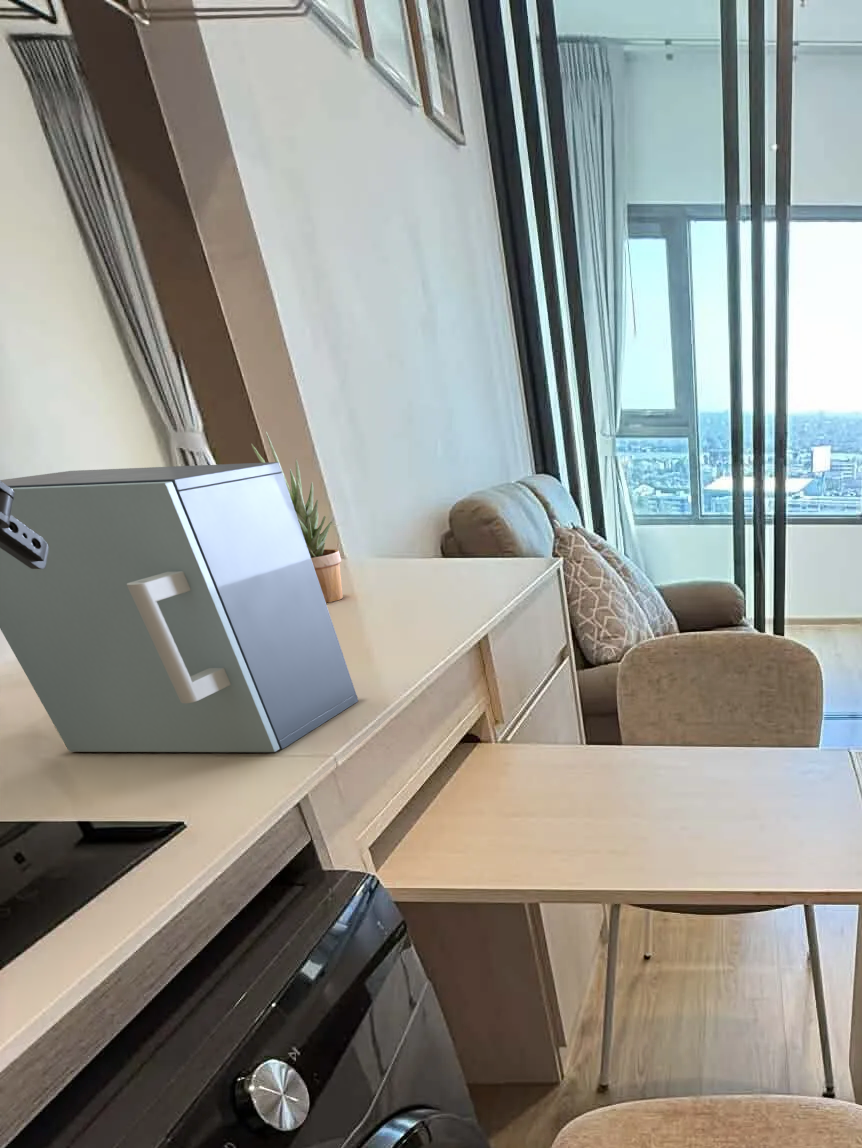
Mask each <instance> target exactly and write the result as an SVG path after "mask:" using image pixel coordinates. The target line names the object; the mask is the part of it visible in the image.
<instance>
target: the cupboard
mask: <svg viewBox="0 0 862 1148" xmlns="http://www.w3.org/2000/svg"><path fill="white" fill-rule="evenodd" d="M279 462H280V461H279ZM279 462H275V461H272V462H271V461H270V462H269V461H267V462H265V463H261V462H248V463H247V462H245V463H223V464H222V463H221V464H201V465H199V464H198V465H197V464H196V465H175V466H173V465H172V466H155V467H154V466H153V467H152V466H151V467H150V466H149V467H129V468H128V467H127V468H106V469H86V470H85V469H83V470H81V469H80V470H66V471H59V472H52V473H44V474H36V475H28V476H21V477H13V478H12V477H11V478H6V479H5V478H4V479H0V481H2V482H3V483H4V484H6V485H7V486H9V487H10V488H21V487H46V486H71V485H96V484H121V483H146V482H172V483H173V485H174V487H175V490H176V492H177V495H178V497H179V500H180V502H181V505H182V507H183V510H184V512H185V515H186V517H187V520H188V522H189V525H190V527H191V530H192V532H193V535H194V537H195V539H196V542H197V544H198V547H199V549H200V552H201V554H202V557H203V559H204V562H205V564H206V567H207V569H208V572H209V574H210V577H211V579H212V582H213V584H214V587H215V589H216V592H217V594H218V596H219V599H220V601H221V604H222V606H223V609H224V611H225V614H226V616H227V619H228V621H229V624H230V626H231V629H232V631H233V634H234V636H235V639H236V641H237V644H238V646H239V649H240V651H241V653H242V656H243V658H244V661H245V663H246V666H247V668H248V671H249V673H250V676H251V678H252V681H253V683H254V686H255V688H256V691H257V693H258V696H259V698H260V701H261V703H262V706H263V708H264V710H265V713H266V715H267V718H268V720H269V723H270V725H271V728H272V730H273V733H274V735H275V738H276V740H277V743H278V745H279V748H280V749H279V750H284V749H285V748H287V747H289V746H290V745H291V744H293V743H294V742H296V741H298V740H299V739H301V738H303V737H304V736H306V735H308V734H309V733H311V732H312V731H314V730H315V729H317V728H319V727H320V726H322V725H324V724H325V723H326V722H328V721H330V720H331V719H333V718H334V717H336V716H338V715H339V714H340V713H342V712H344V711H345V710H347V709H349V708H350V707H352V706H353V705H356V703H358V702H359V698H358V695H357V692H356V688H355V686H354V683H353V680H352V677H351V674H350V671H349V668H348V665H347V662H346V659H345V656H344V653H343V650H342V646H341V644H340V641H339V638H338V635H337V633H336V629H335V627H334V624H333V620H332V617H331V614H330V611H329V608H328V604H327V603H326V602H325V599H324V596H323V593H322V590H321V587H320V584H319V581H318V578H317V575H316V572H315V569H314V566H313V563H312V560H311V557H310V554H309V551H308V548H307V545H306V542H305V539H304V536H303V533H302V530H301V527H300V524H299V521H298V518H297V515H296V512H295V509H294V506H293V503H292V500H291V497H290V494H289V491H288V488H287V485H286V482H285V479H284V476H283V473H284V472H283V473H281V472H282V471H281V468H282V467H281V468H280V465H281V464H280V465H279Z"/></svg>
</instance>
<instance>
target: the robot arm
mask: <svg viewBox="0 0 862 1148" xmlns="http://www.w3.org/2000/svg"><path fill="white" fill-rule="evenodd" d="M14 495H15V492H14V491H13V490H12V489H11V488H10V487H9V486H7V485H6V484H4V483H3V482H2V481H0V548H1V549H3V550H4V551H6V552H7V553H9V554H10V555H12V556H13V557H15V558H16V559H17V560H19V561H20V562H22V563H23V564H25V565H26V566H28V567H29V568H31V569H44V568H45V567H46V562H47V556H48V550H49V548H48V544H47V542H46V541H45V540H44V539H43V538H42V537H41V536H39V535H38V534H37V533H34V531H32V530H31V529H30V528H28V527H27V526H26V525H24V524H23V523H21V522H20V521H19V520H17V519H16V518H14V517H13V516H12V515H10V514H11V509H12V503H13V500H14Z"/></svg>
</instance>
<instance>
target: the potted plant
mask: <svg viewBox="0 0 862 1148" xmlns="http://www.w3.org/2000/svg"><path fill="white" fill-rule="evenodd" d="M265 435H266V439H267V442H268V444H269V447H270V450H271V455H272V456H273V459H274V462H279V465H280V468H281V471H282V472H281V473H283V476H284V479H285V482H286V485H287V488H288V491H289V494H290V497H291V500H292V503H293V506H294V509H295V512H296V515H297V518H298V521H299V524H300V527H301V530H302V533H303V536H304V539H305V542H306V545H307V548H308V551H309V554H310V557H311V560H312V563H313V566H314V569H315V572H316V575H317V578H318V581H319V584H320V587H321V590H322V593H323V596H324V599H325V602H326V604H328V603H333V602H336V601H340V600H341V599H343V597H344V595H343V586H342V576H341V562H342V556H341V554H340V551H339V549H336V548H325V546H326V540H327V536H328V535H329V534H328V533H329V530H330V528H331V526H332V523H333V522H332V521H330V522H329V523H328V524H327V526H326V527H325V528H324V529H323V526H324V524H325V521H326V518H327V517H326V516H325V515H324V516H323V517H322V519H321V521H320V524H319V512H318V508H319V500H318V499H316V501H315V504H314V489H315V488H314V483H313V481H312V482H311V483H310V489H309V495H308V498H307V501H306V502H304V495H303V485H302V479H301V472H300V466H299V462H298V458H296V457H295V476H294V473H293V472H292V469H291V468H290V469H289V476H290V485H289V482H288V480H287V477H286V475H285V472H284V470H283V468H282V465H281V462H280V460H279V457H278V455H277V453H276V451H275V448H274V445H273V443H272V441H271V438H270V436H269V433H268V431H265ZM251 447H252V450H253V452H254V454H255V455H256V457H257V459H258V460H259V463H266V461H265V459H264V458H263V457H262V456H261V454H260V453H259V451H258V450H257V448H256V447H255V446H254V444H251ZM290 486H291V487H290ZM318 524H319V525H318ZM322 529H323V531H322ZM321 531H322V532H321Z"/></svg>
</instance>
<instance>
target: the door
mask: <svg viewBox="0 0 862 1148" xmlns="http://www.w3.org/2000/svg"><path fill="white" fill-rule="evenodd" d="M11 489H12V490H13V491H14V492H15V495H14V500H13V503H12V509H11V514H10V515H12V516H13V517H14V518H16V519H17V520H19V521H20V522H21V523H23V524H24V525H26V526H27V527H28V528H30V529H31V530H32V531H34V533H37V534H38V535H39V536H41V537H42V538H43V539H44V540H45V541H46V542H47V544H48V548H49V550H48V556H47V562H46V567H45V568H44V569H31V568H29V567H28V566H26V565H25V564H23V563H22V562H20V561H19V560H17V559H16V558H15V557H13V556H12V555H10V554H9V553H7V552H6V551H4V550H3V549H1V548H0V631H1V633H2V635H3V636H4V638H5V640H6V642H7V643H8V645H9V647H10V649H11V651H12V652H13V654H14V656H15V658H16V660H17V661H18V664H19V665H20V667H21V668H22V670H23V672H24V674H25V676H26V678H27V679H28V680H29V683H30V685H31V686H32V688H33V690H34V692H35V693H36V696H37V697H38V699H39V701H40V702H41V704H42V706H43V708H44V710H45V711H46V713H47V715H48V716H49V719H50V720H51V723H52V724H53V726H54V727H55V729H56V731H57V733H58V735H59V736H60V738H61V740H62V742H63V743H64V745H65V747H66V749H67V751H68V752H69V753H71V752H73V753H75V752H76V753H78V752H79V753H80V752H81V753H127V752H128V753H276V752H278V751H279V750H281V749H280V748H279V745H278V743H277V740H276V738H275V735H274V733H273V730H272V728H271V725H270V723H269V720H268V718H267V715H266V713H265V710H264V708H263V706H262V703H261V701H260V698H259V696H258V693H257V691H256V688H255V686H254V683H253V681H252V678H251V676H250V673H249V671H248V668H247V666H246V663H245V661H244V658H243V656H242V653H241V651H240V649H239V646H238V644H237V641H236V639H235V636H234V634H233V631H232V629H231V626H230V624H229V621H228V619H227V616H226V614H225V611H224V609H223V606H222V604H221V601H220V599H219V596H218V594H217V592H216V589H215V587H214V584H213V582H212V579H211V577H210V574H209V572H208V569H207V567H206V564H205V562H204V559H203V557H202V554H201V552H200V549H199V547H198V544H197V542H196V539H195V537H194V535H193V532H192V530H191V527H190V525H189V522H188V520H187V517H186V515H185V512H184V510H183V507H182V505H181V502H180V500H179V497H178V495H177V492H176V490H175V487H174V485H173V483H172V482H146V483H121V484H96V485H71V486H46V487H21V488H11Z"/></svg>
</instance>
